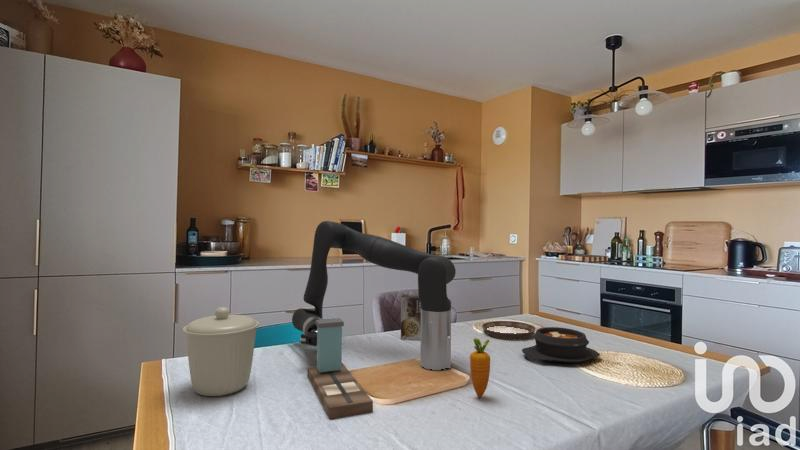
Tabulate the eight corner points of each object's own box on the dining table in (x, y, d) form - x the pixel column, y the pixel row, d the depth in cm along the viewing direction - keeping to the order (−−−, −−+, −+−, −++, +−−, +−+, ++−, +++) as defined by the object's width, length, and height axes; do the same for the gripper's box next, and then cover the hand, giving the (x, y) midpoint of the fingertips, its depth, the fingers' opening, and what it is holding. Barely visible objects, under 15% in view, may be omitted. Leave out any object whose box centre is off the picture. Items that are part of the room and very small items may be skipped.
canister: (181, 409, 93) (182, 317, 94) (182, 382, 109) (183, 303, 110) (263, 395, 102) (264, 310, 102) (253, 372, 118) (254, 299, 118)
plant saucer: (482, 340, 154) (482, 331, 154) (481, 327, 175) (481, 319, 175) (539, 343, 151) (539, 334, 151) (531, 329, 171) (531, 321, 171)
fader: (315, 367, 113) (315, 319, 113) (339, 364, 116) (339, 318, 116) (318, 373, 109) (318, 323, 109) (343, 370, 112) (343, 321, 112)
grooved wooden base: (307, 375, 115) (307, 366, 115) (342, 371, 119) (342, 362, 119) (329, 419, 89) (329, 407, 89) (372, 412, 93) (372, 400, 93)
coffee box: (425, 336, 159) (425, 294, 159) (424, 340, 152) (424, 297, 152) (401, 335, 159) (402, 293, 160) (400, 339, 153) (400, 296, 153)
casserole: (541, 370, 122) (541, 342, 122) (511, 351, 140) (511, 327, 140) (614, 365, 127) (614, 338, 127) (576, 347, 145) (576, 324, 145)
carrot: (491, 395, 103) (491, 335, 103) (488, 403, 98) (489, 341, 98) (471, 392, 105) (471, 334, 105) (468, 400, 100) (468, 339, 100)
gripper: (295, 320, 128) (303, 333, 112) (336, 317, 133) (350, 329, 117) (294, 344, 128) (303, 361, 112) (336, 340, 133) (350, 355, 117)
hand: (327, 345), depth 114 cm, fingers closed
